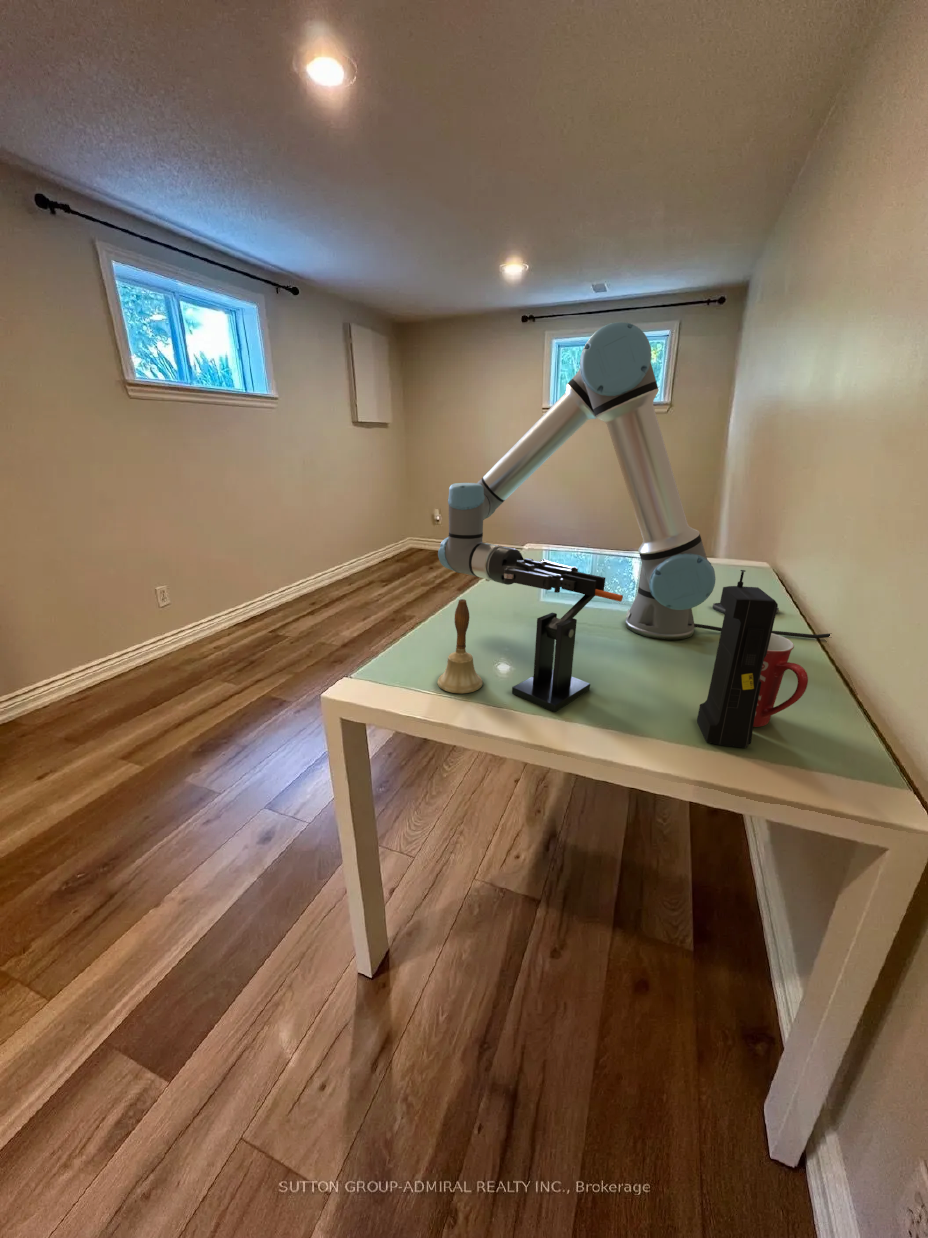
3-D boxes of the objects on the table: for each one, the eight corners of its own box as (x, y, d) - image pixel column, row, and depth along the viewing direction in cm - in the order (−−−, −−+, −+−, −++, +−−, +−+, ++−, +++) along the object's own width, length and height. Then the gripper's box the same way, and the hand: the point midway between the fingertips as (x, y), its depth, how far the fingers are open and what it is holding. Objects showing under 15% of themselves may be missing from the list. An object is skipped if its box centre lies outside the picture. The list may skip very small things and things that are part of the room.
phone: (711, 603, 132) (757, 599, 135) (710, 607, 132) (756, 603, 135) (732, 612, 124) (781, 608, 128) (732, 617, 125) (780, 612, 128)
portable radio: (753, 754, 70) (796, 586, 62) (708, 748, 71) (744, 583, 63) (736, 724, 77) (772, 570, 69) (695, 720, 78) (726, 568, 70)
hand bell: (472, 670, 95) (474, 591, 89) (489, 689, 87) (492, 604, 82) (431, 676, 92) (430, 595, 86) (445, 697, 85) (445, 610, 79)
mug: (699, 706, 83) (714, 631, 78) (741, 698, 85) (757, 625, 81) (763, 748, 71) (785, 664, 67) (809, 737, 74) (833, 656, 70)
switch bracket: (548, 673, 94) (553, 605, 89) (589, 690, 88) (597, 617, 83) (511, 693, 86) (515, 620, 81) (554, 712, 80) (561, 634, 76)
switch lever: (570, 589, 93) (568, 578, 92) (623, 602, 86) (622, 590, 85) (526, 630, 86) (524, 619, 85) (580, 648, 79) (579, 636, 78)
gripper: (520, 574, 109) (617, 597, 94) (472, 588, 99) (573, 616, 83) (522, 541, 106) (622, 559, 91) (473, 551, 96) (577, 574, 81)
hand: (598, 586), depth 87 cm, fingers closed on switch lever, 2 cm apart
